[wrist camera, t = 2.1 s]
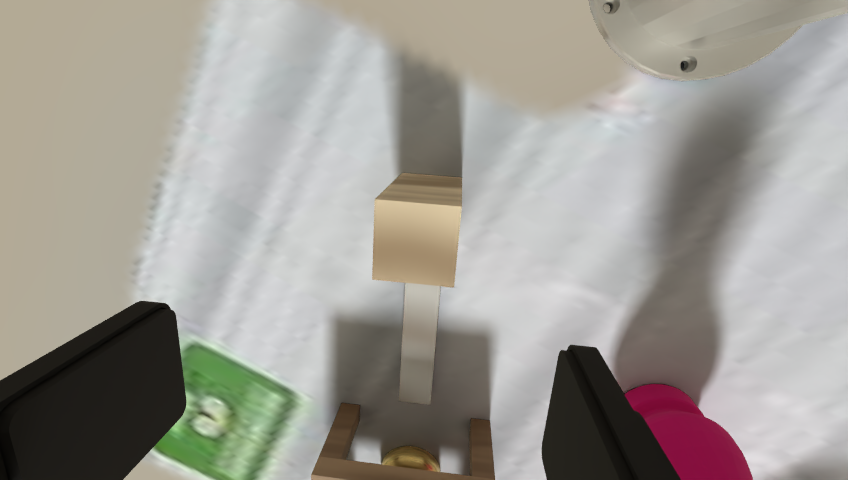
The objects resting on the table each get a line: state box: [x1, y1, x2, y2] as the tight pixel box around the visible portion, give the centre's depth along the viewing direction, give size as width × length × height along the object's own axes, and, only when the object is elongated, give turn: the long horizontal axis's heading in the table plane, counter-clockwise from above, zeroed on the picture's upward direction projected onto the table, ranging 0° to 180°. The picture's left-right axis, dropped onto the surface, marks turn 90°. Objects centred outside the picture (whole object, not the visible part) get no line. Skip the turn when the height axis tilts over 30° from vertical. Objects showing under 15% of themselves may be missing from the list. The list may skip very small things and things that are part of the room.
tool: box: [372, 173, 462, 405], centre depth 26 cm, size 17×4×9 cm, turn 176°
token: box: [382, 446, 440, 472], centre depth 34 cm, size 5×5×2 cm
